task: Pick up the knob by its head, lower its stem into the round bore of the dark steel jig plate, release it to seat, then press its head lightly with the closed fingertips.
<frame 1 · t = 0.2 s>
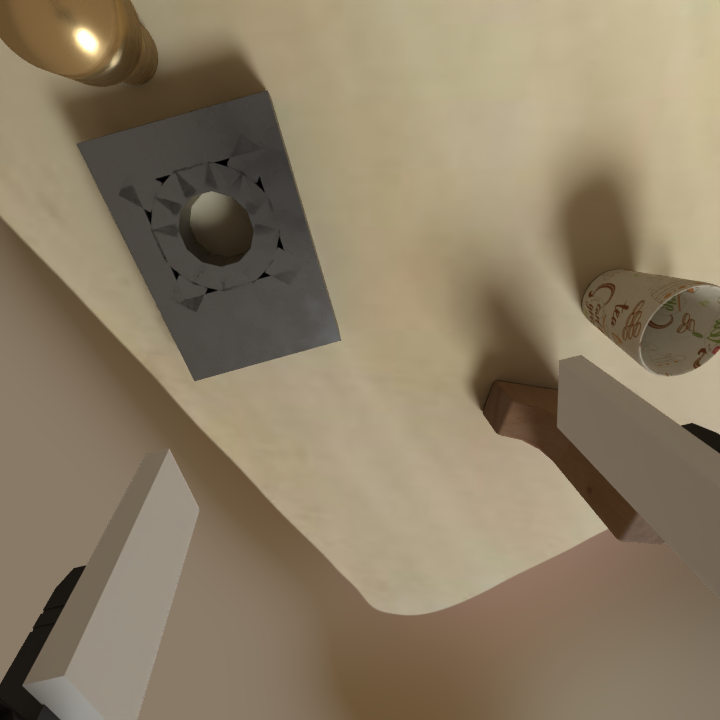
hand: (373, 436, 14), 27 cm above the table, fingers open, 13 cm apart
mug: (624, 300, 44), on the table
knob: (128, 51, 30), on the table
wooden block: (521, 400, 48), on the table
jig: (232, 246, 37), on the table
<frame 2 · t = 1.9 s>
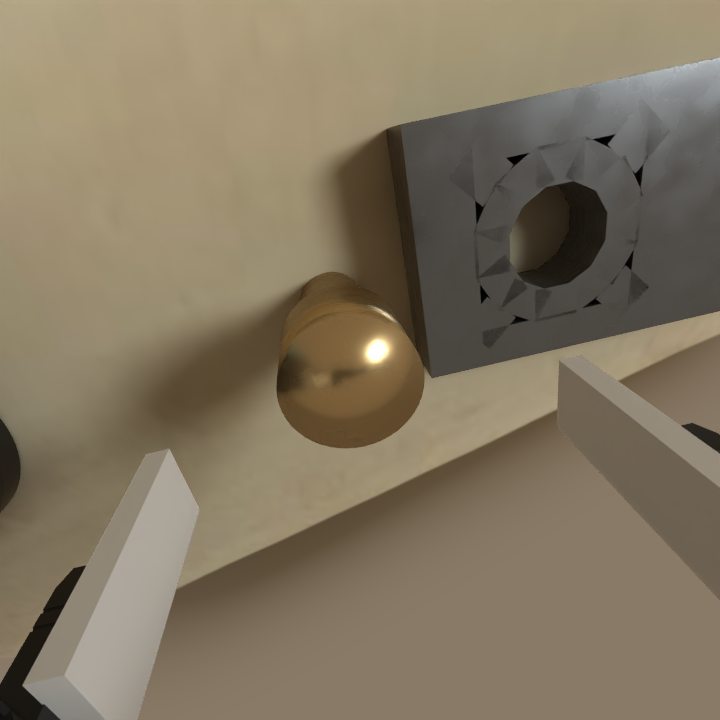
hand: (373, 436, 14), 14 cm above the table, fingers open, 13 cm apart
knob: (332, 303, 27), on the table
jig: (557, 221, 26), on the table
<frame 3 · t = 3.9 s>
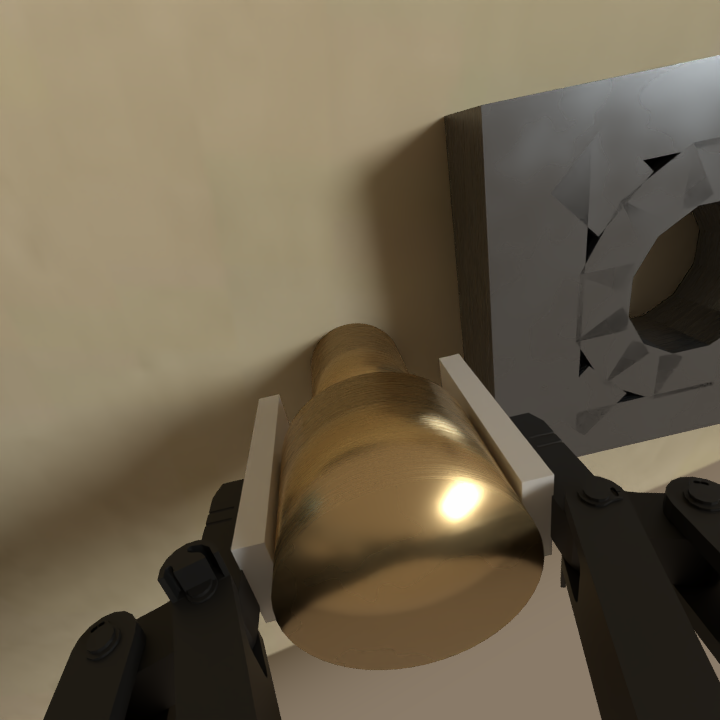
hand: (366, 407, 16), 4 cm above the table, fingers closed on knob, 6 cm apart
knob: (355, 364, 19), on the table, touching gripper
jig: (679, 250, 18), on the table
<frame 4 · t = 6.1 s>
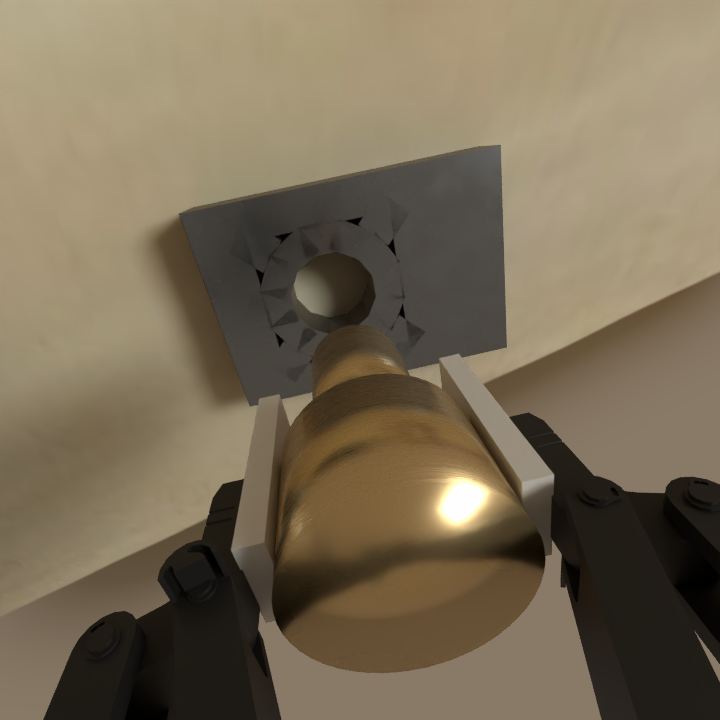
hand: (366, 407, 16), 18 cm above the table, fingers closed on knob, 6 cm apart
knob: (355, 366, 19), point 14 cm above the table, touching gripper
jig: (356, 275, 32), on the table
when the fingers open (5 cm above the table, at t = 8.4 s): knob drops 2 cm, resting in jig.
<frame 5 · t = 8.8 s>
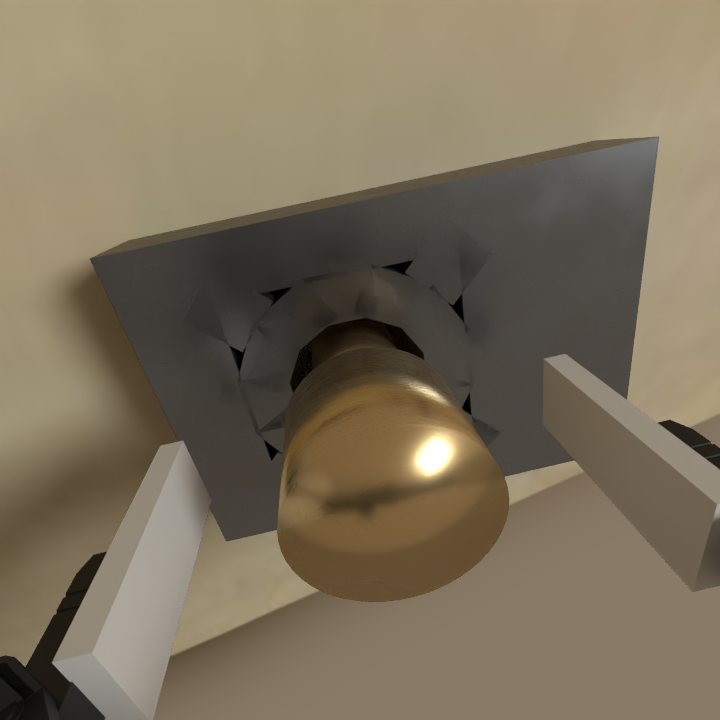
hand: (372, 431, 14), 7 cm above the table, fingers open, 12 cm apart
knob: (351, 349, 21), resting in jig
jig: (391, 339, 21), on the table
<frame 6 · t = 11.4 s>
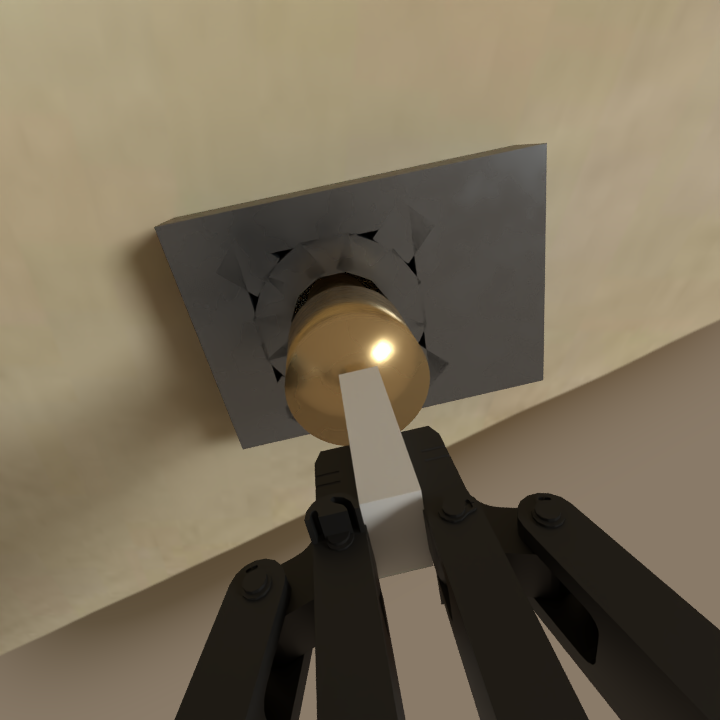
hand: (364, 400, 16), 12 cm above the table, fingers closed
knob: (338, 303, 27), resting in jig
jig: (368, 296, 27), on the table
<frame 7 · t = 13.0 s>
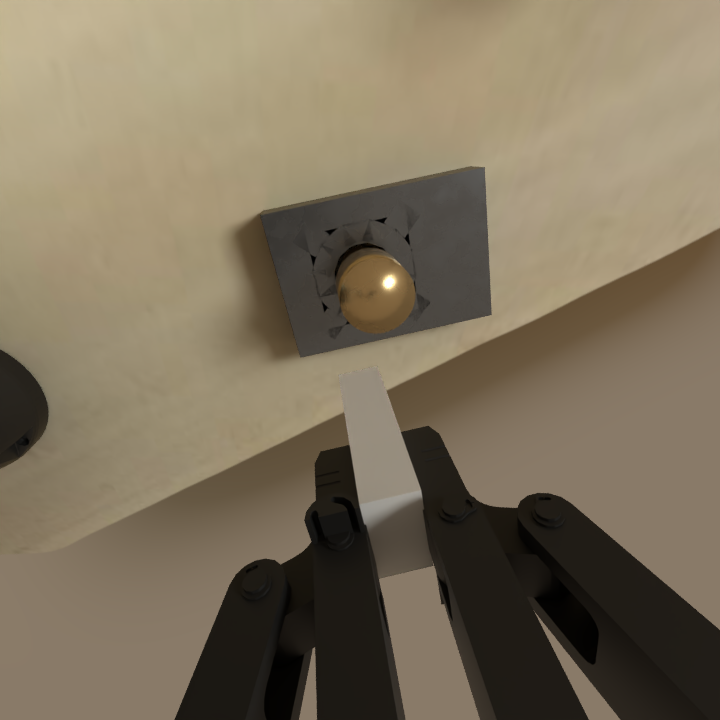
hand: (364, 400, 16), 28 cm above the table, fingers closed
knob: (360, 265, 42), resting in jig
jig: (379, 261, 43), on the table
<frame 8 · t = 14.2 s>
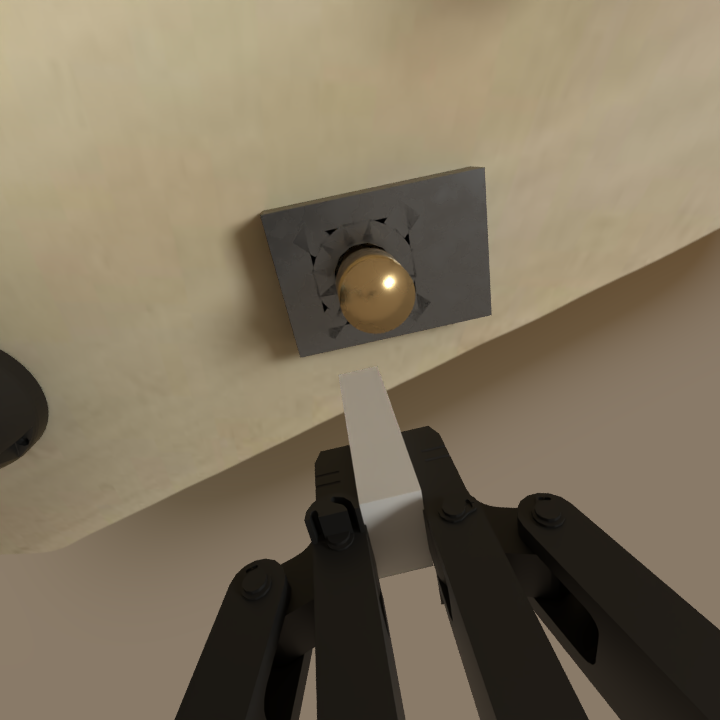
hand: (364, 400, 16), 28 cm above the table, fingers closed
knob: (360, 265, 42), resting in jig
jig: (379, 261, 43), on the table
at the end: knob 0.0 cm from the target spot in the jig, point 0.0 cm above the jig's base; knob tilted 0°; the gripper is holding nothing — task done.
